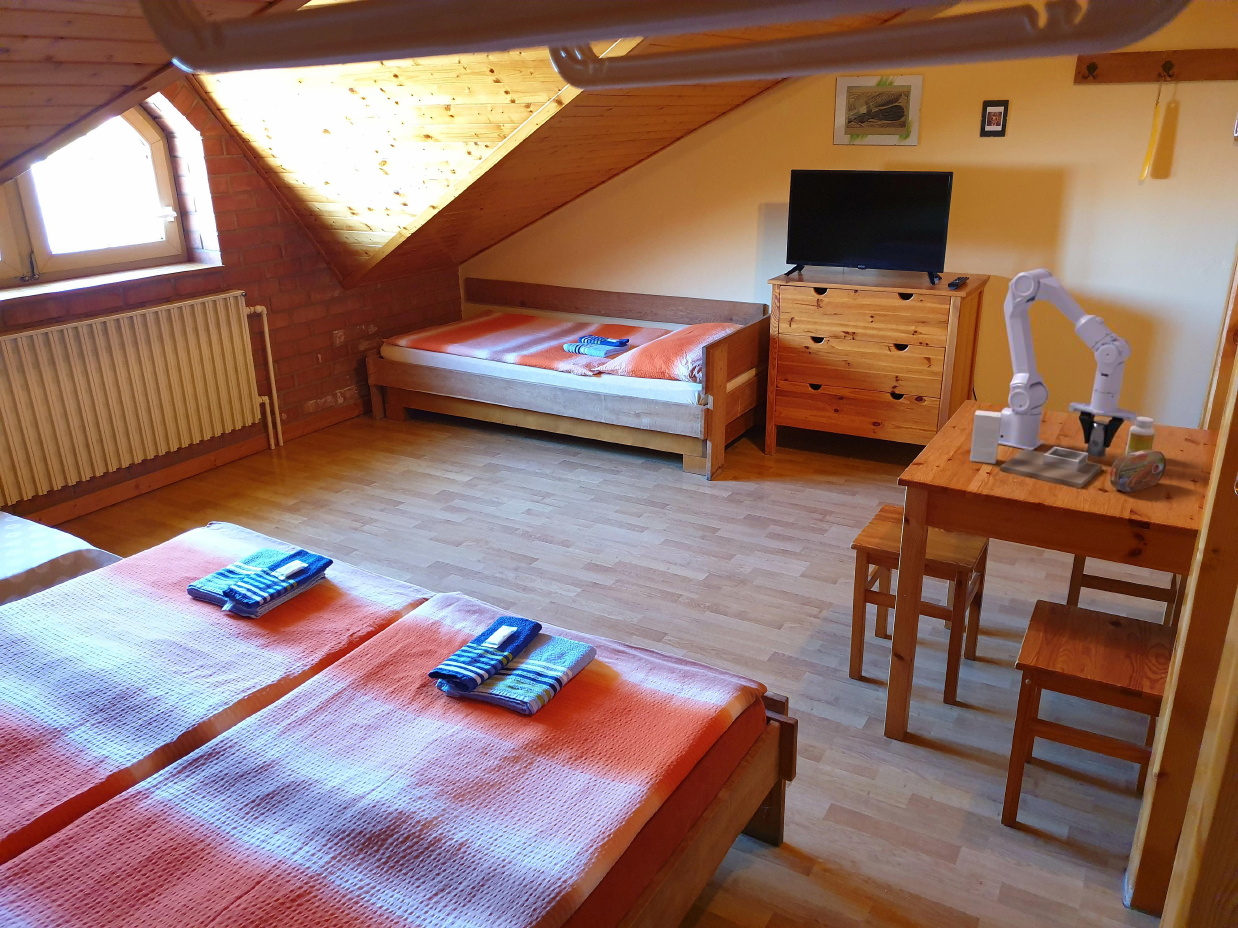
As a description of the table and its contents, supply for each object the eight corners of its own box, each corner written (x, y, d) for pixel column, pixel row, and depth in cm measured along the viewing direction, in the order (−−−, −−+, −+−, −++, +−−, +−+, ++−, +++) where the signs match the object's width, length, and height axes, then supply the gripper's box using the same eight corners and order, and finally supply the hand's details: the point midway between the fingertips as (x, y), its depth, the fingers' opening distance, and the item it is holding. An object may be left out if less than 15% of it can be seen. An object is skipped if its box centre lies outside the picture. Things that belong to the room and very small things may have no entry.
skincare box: (996, 458, 225) (1002, 412, 221) (995, 464, 221) (1001, 417, 217) (970, 455, 227) (976, 409, 223) (968, 461, 224) (974, 414, 220)
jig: (999, 470, 217) (1001, 456, 216) (1024, 453, 228) (1026, 439, 227) (1080, 488, 206) (1082, 473, 204) (1101, 469, 217) (1104, 454, 215)
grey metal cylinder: (1084, 454, 221) (1089, 423, 219) (1089, 450, 224) (1094, 419, 221) (1101, 458, 219) (1107, 426, 216) (1106, 453, 222) (1112, 422, 219)
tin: (1116, 495, 202) (1122, 459, 199) (1104, 490, 204) (1110, 455, 201) (1163, 484, 207) (1170, 449, 204) (1151, 480, 210) (1157, 445, 207)
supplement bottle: (1153, 460, 222) (1160, 422, 218) (1129, 459, 223) (1136, 421, 219) (1145, 453, 227) (1152, 416, 223) (1122, 452, 228) (1128, 415, 224)
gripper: (1068, 388, 218) (1060, 442, 222) (1135, 399, 209) (1125, 455, 213) (1078, 382, 223) (1069, 435, 227) (1143, 392, 213) (1133, 447, 218)
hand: (1097, 444), depth 221 cm, fingers closed on grey metal cylinder, 4 cm apart
